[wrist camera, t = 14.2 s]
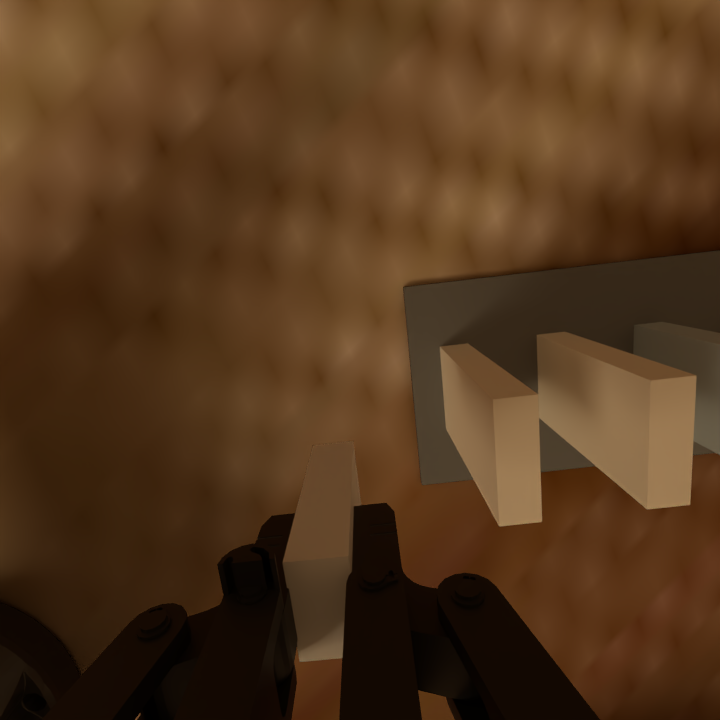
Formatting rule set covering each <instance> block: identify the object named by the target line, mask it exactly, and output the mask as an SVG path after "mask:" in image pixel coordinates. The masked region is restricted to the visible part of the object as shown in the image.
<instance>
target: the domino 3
mask: <svg viewBox="0 0 720 720" xmlns="http://www.w3.org/2000/svg"><path fill="white" fill-rule="evenodd" d="M633 354H634V355H637V356H640V357H643V358H646V359H649V360H652V361H655V362H658V363H661V364H664V365H667V366H670V367H673V368H676V369H679V370H682V371H685V372H688V373H691V374H694V375H697V378H696V398H695V418H694V438H693V441H694V442H696V443H698V444H700V445H702V446H704V447H706V448H708V449H709V450H711V451H713V452H715V453H717V454H719V455H720V333H717V332H712V331H707V330H702V329H697V328H692V327H687V326H681V325H676V324H671V323H666V322H656V323H647V324H638V325H634V346H633Z"/></svg>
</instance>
